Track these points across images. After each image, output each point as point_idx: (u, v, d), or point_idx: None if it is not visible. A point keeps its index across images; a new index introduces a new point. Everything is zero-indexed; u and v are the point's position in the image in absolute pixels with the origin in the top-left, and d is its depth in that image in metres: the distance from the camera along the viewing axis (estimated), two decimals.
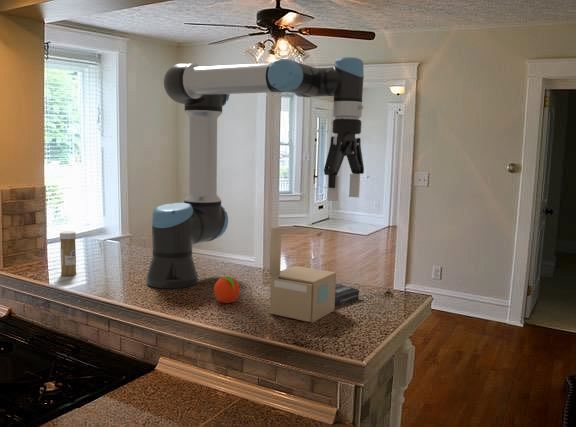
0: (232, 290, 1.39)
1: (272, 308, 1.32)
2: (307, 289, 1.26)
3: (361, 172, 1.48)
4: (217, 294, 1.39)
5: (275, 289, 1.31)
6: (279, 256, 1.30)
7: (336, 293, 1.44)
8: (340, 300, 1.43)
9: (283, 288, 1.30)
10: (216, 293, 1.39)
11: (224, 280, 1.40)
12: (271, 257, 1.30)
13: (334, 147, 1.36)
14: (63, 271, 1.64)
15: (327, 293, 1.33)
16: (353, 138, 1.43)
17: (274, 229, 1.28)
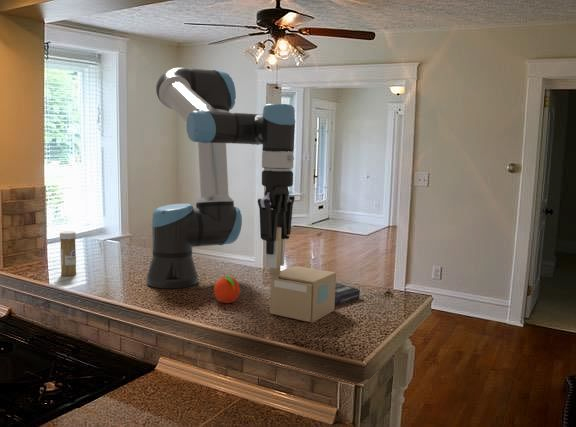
0: (232, 290, 1.39)
1: (272, 308, 1.32)
2: (307, 289, 1.26)
3: (286, 236, 1.31)
4: (217, 294, 1.39)
5: (275, 289, 1.31)
6: (279, 256, 1.30)
7: (336, 293, 1.44)
8: (340, 300, 1.43)
9: (283, 288, 1.30)
10: (216, 293, 1.39)
11: (224, 280, 1.40)
12: None
13: (264, 211, 1.24)
14: (63, 271, 1.64)
15: (327, 293, 1.33)
16: (286, 189, 1.30)
17: None
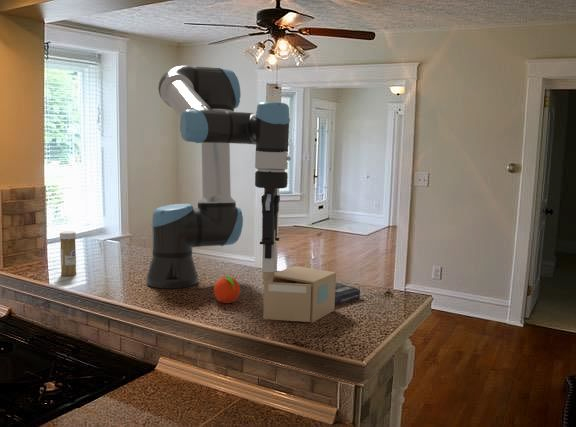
0: (232, 290, 1.39)
1: (266, 313, 1.28)
2: (307, 289, 1.26)
3: (277, 239, 1.28)
4: (217, 294, 1.39)
5: (269, 293, 1.27)
6: (274, 259, 1.26)
7: (337, 293, 1.44)
8: (341, 299, 1.43)
9: (279, 291, 1.27)
10: (216, 293, 1.39)
11: (224, 280, 1.40)
12: None
13: (268, 214, 1.19)
14: (63, 271, 1.64)
15: (327, 293, 1.33)
16: (276, 189, 1.27)
17: None
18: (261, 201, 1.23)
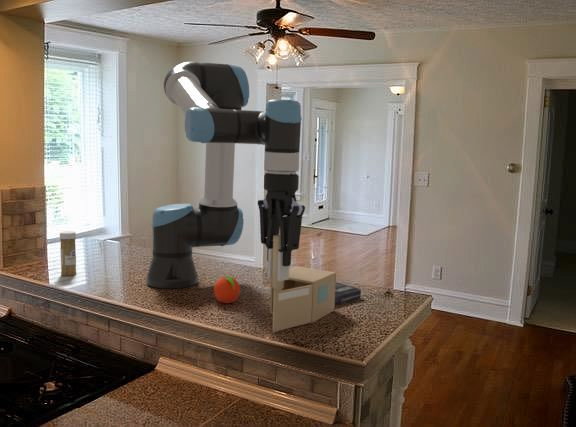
0: (232, 290, 1.39)
1: (276, 325, 1.20)
2: (309, 290, 1.25)
3: None
4: (217, 294, 1.39)
5: (279, 303, 1.20)
6: None
7: (337, 293, 1.45)
8: (341, 299, 1.44)
9: (287, 299, 1.21)
10: (216, 293, 1.39)
11: (224, 280, 1.40)
12: None
13: (298, 219, 1.13)
14: (63, 271, 1.64)
15: (327, 293, 1.33)
16: None
17: None
18: (279, 206, 1.14)
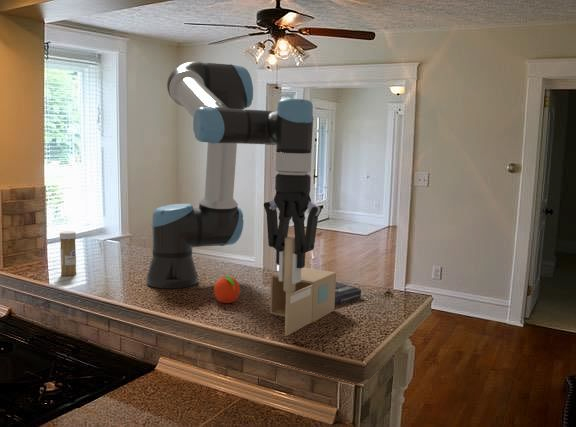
0: (232, 290, 1.39)
1: (288, 329, 1.18)
2: (310, 290, 1.25)
3: None
4: (217, 294, 1.39)
5: (290, 306, 1.18)
6: None
7: (337, 293, 1.45)
8: (341, 299, 1.44)
9: (296, 301, 1.19)
10: (216, 293, 1.39)
11: (224, 280, 1.40)
12: None
13: (315, 220, 1.12)
14: (63, 271, 1.64)
15: (327, 293, 1.33)
16: None
17: None
18: (295, 208, 1.12)
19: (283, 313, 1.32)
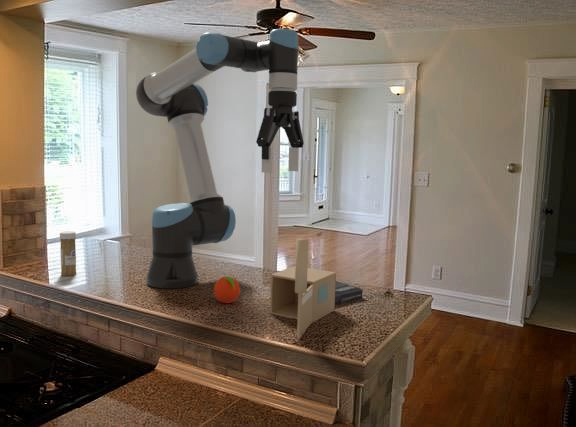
0: (232, 290, 1.39)
1: (300, 331, 1.17)
2: (312, 291, 1.25)
3: None
4: (217, 294, 1.39)
5: (301, 308, 1.17)
6: None
7: (338, 292, 1.45)
8: (342, 299, 1.44)
9: (304, 302, 1.19)
10: (216, 293, 1.39)
11: (224, 280, 1.40)
12: (306, 273, 1.15)
13: None
14: (63, 271, 1.64)
15: (327, 293, 1.33)
16: None
17: (308, 240, 1.14)
18: (292, 117, 1.42)
19: (283, 313, 1.32)
